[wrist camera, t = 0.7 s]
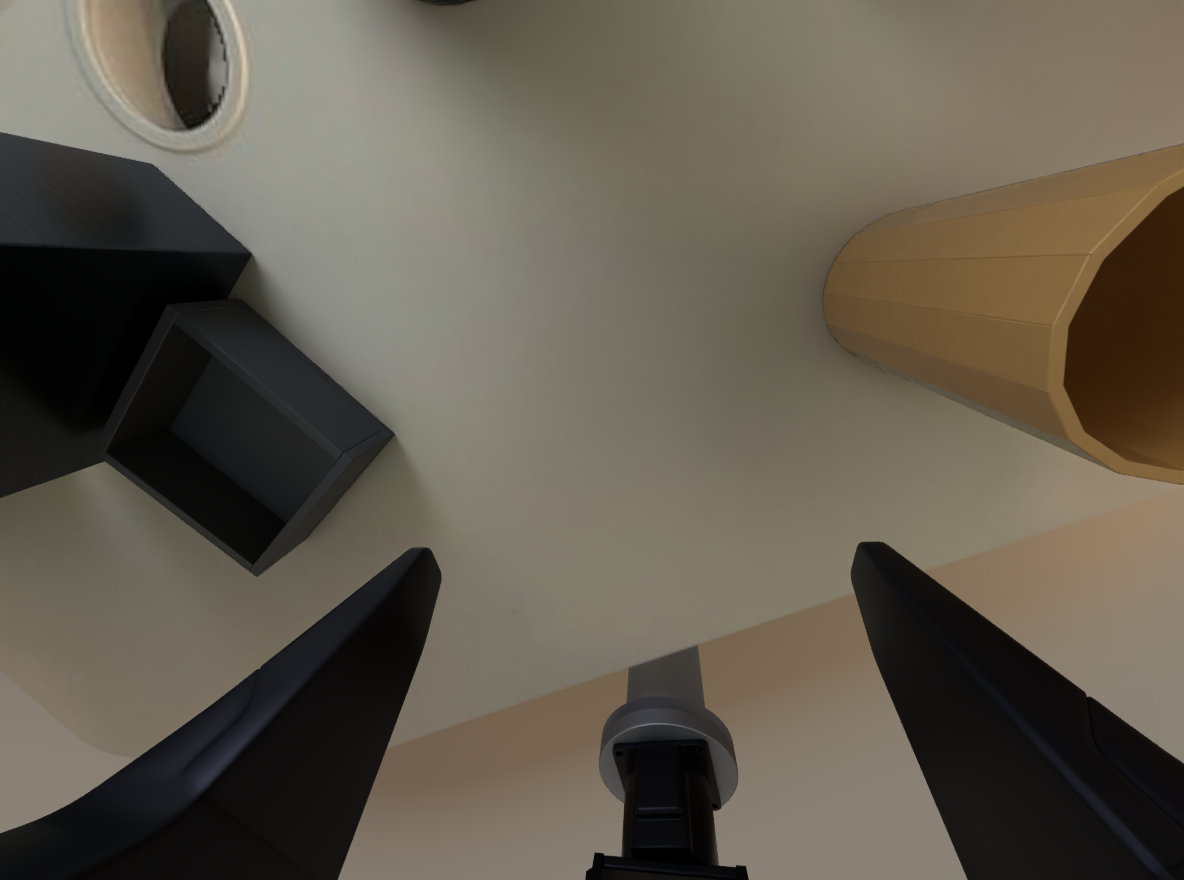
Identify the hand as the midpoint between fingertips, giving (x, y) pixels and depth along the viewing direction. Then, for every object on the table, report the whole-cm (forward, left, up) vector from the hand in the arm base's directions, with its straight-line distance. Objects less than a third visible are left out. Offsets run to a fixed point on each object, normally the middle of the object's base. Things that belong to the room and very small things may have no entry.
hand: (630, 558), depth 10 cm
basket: (+2, +22, -15) cm, 27 cm away
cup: (+2, -12, -15) cm, 19 cm away
